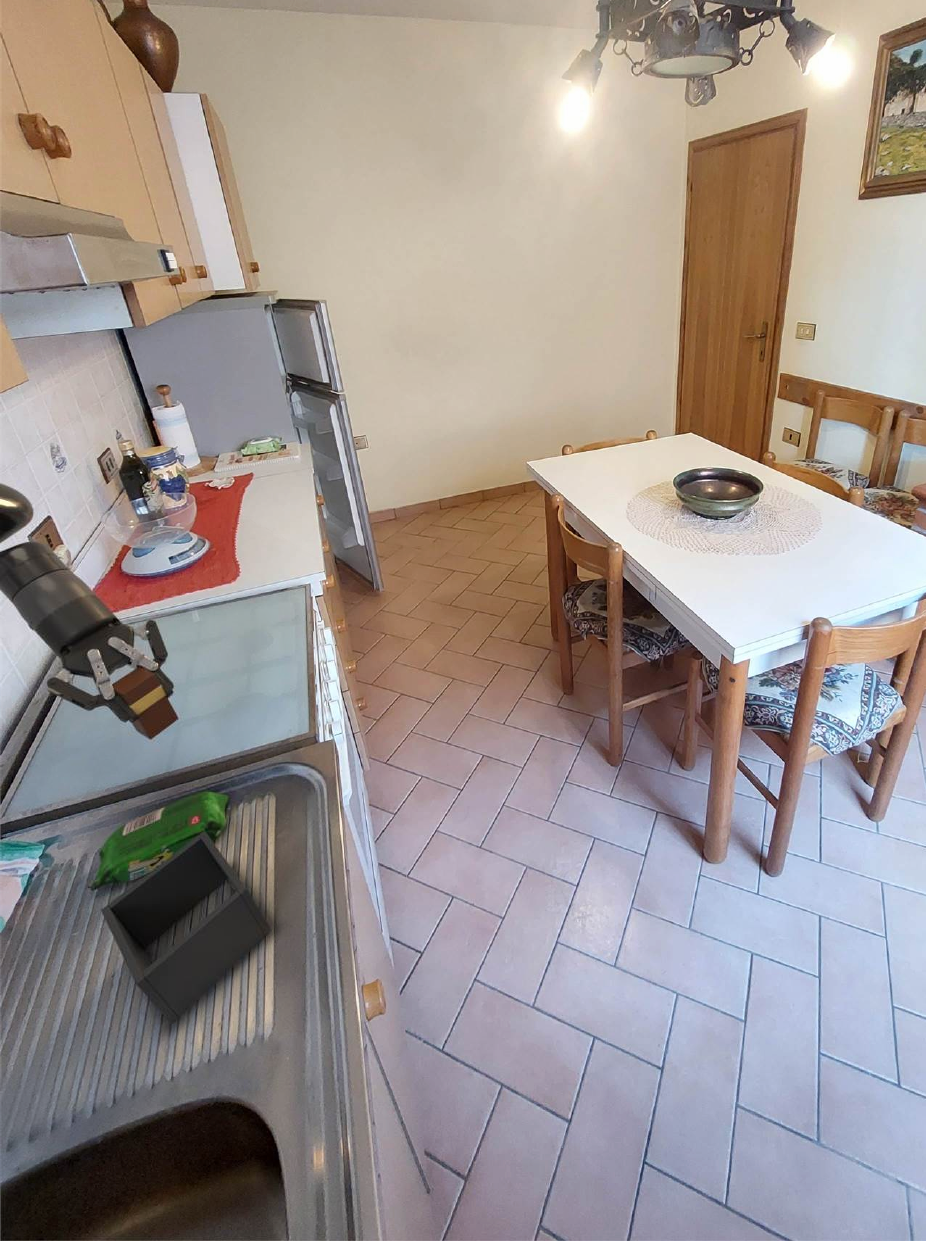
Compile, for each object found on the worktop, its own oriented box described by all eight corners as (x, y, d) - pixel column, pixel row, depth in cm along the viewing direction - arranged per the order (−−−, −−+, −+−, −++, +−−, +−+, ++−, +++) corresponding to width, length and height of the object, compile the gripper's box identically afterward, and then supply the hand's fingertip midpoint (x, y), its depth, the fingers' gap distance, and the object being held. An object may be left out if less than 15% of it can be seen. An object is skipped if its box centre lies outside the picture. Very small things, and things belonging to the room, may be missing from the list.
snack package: (106, 857, 77) (87, 834, 75) (232, 799, 83) (219, 776, 81) (99, 906, 72) (79, 883, 69) (235, 841, 78) (221, 817, 75)
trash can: (176, 1029, 60) (136, 984, 55) (139, 956, 66) (100, 909, 61) (275, 936, 67) (246, 888, 62) (233, 877, 73) (204, 830, 69)
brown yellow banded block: (150, 740, 77) (123, 694, 73) (135, 731, 79) (108, 686, 75) (179, 718, 80) (155, 673, 76) (165, 710, 82) (140, 665, 78)
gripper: (0, 634, 69) (97, 740, 69) (123, 571, 79) (207, 663, 80) (4, 655, 74) (95, 754, 74) (119, 594, 84) (199, 680, 85)
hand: (153, 706), depth 77 cm, fingers closed on brown yellow banded block, 4 cm apart
